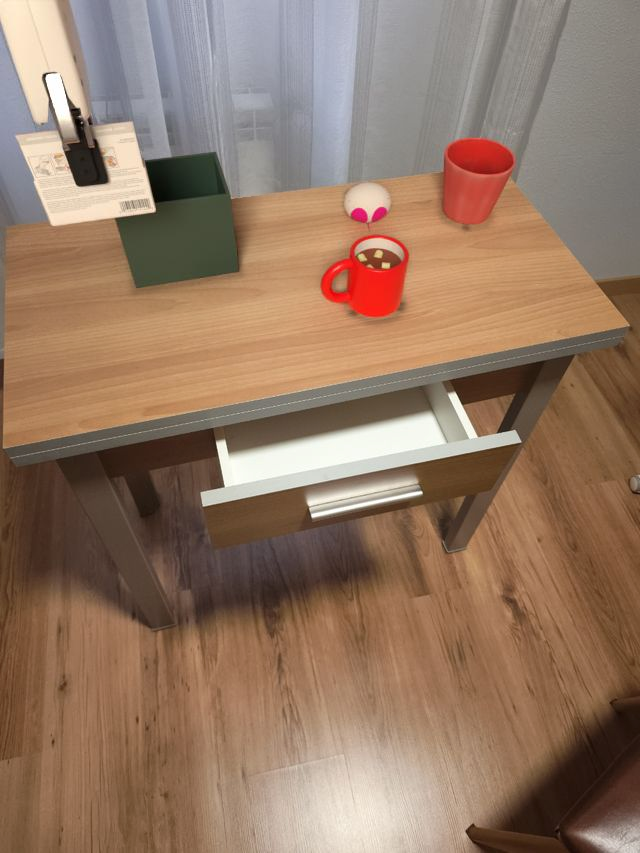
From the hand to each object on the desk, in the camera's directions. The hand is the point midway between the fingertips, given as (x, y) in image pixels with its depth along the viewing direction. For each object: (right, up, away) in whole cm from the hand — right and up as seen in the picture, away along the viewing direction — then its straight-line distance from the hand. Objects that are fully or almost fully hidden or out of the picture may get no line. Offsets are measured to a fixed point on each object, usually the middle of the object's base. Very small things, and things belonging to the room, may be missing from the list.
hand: (91, 174), depth 58 cm
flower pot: (+48, +10, +36) cm, 61 cm away
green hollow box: (+3, 0, +27) cm, 27 cm away
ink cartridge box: (0, -3, +4) cm, 5 cm away
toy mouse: (+31, +7, +34) cm, 47 cm away
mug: (+29, -8, +23) cm, 38 cm away
